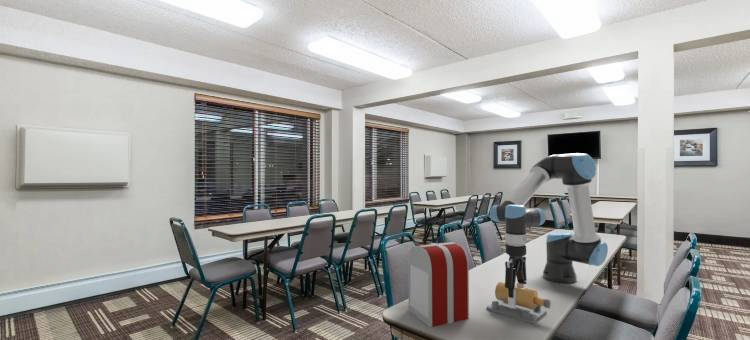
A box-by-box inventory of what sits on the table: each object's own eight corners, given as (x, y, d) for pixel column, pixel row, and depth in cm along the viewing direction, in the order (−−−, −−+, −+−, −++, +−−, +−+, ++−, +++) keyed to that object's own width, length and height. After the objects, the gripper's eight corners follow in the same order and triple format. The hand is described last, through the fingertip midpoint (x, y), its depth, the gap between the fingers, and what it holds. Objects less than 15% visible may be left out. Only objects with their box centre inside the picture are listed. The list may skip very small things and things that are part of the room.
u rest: (486, 309, 133) (486, 300, 133) (501, 300, 142) (501, 292, 142) (533, 324, 120) (533, 314, 120) (546, 313, 129) (546, 304, 129)
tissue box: (407, 309, 133) (407, 242, 134) (444, 302, 140) (444, 238, 140) (430, 327, 118) (429, 251, 118) (470, 318, 125) (469, 246, 125)
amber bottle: (495, 301, 134) (494, 284, 134) (503, 296, 139) (502, 279, 139) (545, 316, 120) (545, 297, 120) (552, 310, 125) (552, 291, 125)
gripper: (514, 249, 122) (514, 312, 122) (535, 241, 136) (535, 298, 135) (494, 246, 127) (495, 307, 127) (517, 239, 141) (517, 293, 141)
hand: (516, 302), depth 131 cm, fingers closed on amber bottle, 7 cm apart
